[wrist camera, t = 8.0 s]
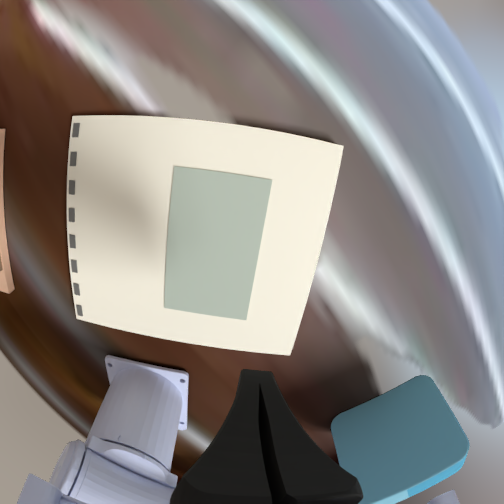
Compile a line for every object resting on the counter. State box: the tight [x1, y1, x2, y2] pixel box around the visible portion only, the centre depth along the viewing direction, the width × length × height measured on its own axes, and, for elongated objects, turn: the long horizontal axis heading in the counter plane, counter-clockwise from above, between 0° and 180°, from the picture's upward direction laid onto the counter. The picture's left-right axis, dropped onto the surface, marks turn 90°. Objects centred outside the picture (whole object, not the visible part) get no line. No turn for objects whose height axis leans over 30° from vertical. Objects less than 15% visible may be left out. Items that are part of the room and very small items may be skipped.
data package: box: [331, 375, 469, 504], centre depth 21 cm, size 12×4×12 cm, turn 118°
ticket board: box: [67, 115, 344, 355], centre depth 19 cm, size 16×18×1 cm
